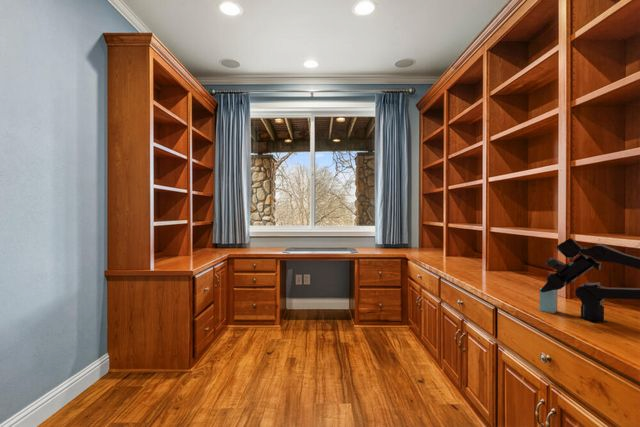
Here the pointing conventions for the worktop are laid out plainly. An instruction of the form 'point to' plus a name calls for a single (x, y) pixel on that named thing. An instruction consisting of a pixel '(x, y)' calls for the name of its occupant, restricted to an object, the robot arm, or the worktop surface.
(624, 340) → the worktop surface
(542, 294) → the pale teal block
